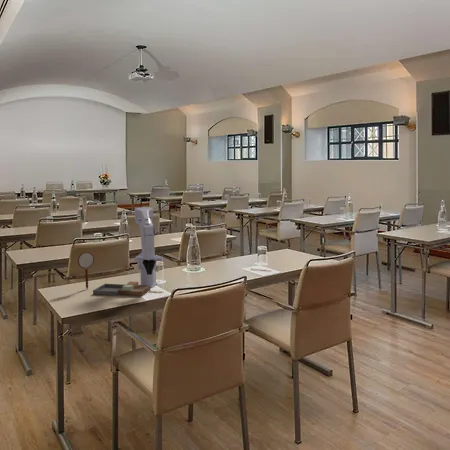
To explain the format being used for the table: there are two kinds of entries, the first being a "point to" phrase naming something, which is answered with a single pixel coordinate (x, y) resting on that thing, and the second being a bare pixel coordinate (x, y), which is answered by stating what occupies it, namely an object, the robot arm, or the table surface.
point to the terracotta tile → (133, 284)
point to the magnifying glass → (86, 263)
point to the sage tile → (128, 287)
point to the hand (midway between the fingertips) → (149, 274)
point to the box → (108, 289)
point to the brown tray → (135, 291)
